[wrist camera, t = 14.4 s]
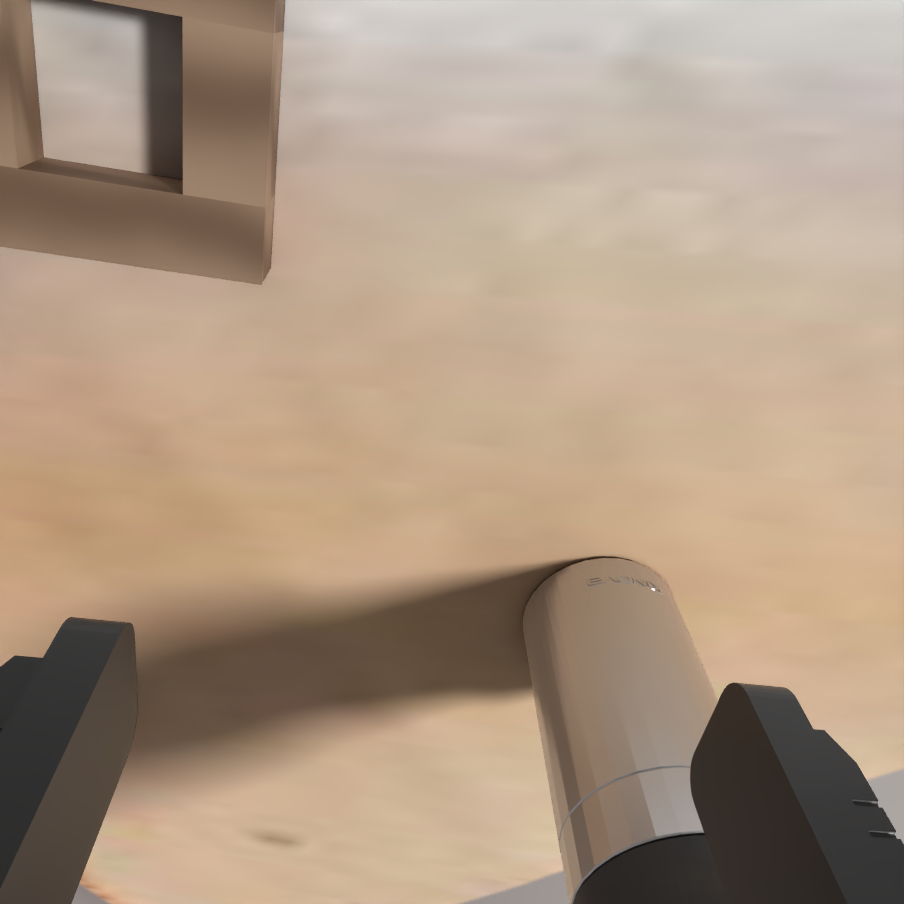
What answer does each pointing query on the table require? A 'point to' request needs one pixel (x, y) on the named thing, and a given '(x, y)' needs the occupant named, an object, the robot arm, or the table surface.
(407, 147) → the table surface
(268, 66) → the socket holder
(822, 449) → the table surface
